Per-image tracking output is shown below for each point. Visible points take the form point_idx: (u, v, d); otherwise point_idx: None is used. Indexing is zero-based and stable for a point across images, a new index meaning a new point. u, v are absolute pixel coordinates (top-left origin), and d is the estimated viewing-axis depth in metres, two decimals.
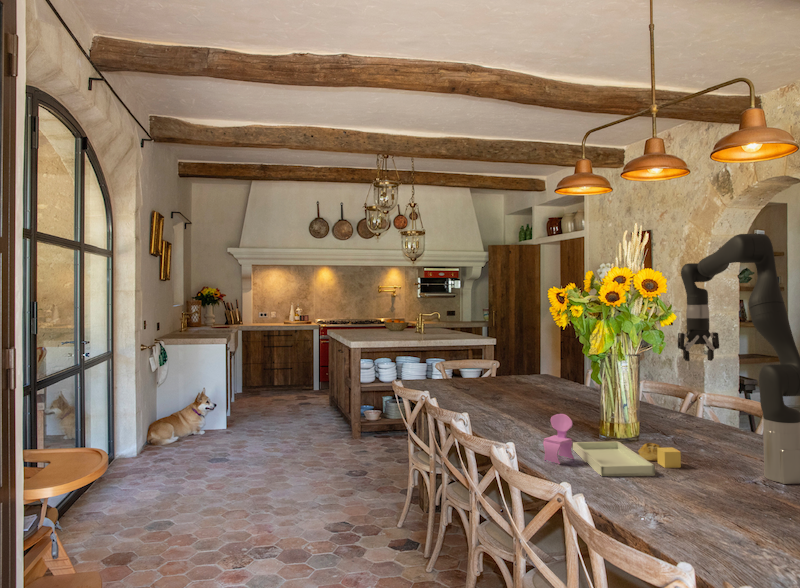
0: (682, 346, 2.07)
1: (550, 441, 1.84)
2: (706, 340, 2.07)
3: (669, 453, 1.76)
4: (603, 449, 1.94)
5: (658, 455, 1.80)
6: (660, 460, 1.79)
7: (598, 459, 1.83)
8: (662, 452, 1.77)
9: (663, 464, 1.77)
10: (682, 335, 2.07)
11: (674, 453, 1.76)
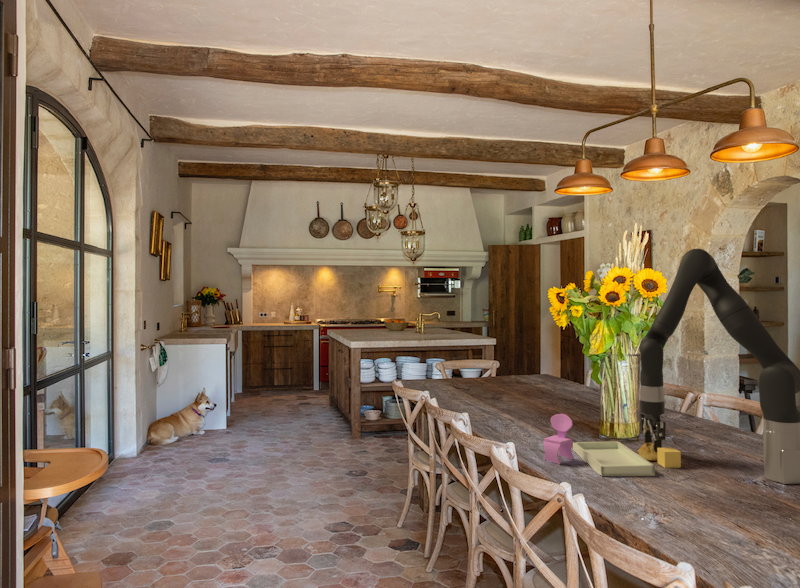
0: None
1: (550, 441, 1.84)
2: None
3: (669, 453, 1.76)
4: (603, 449, 1.94)
5: (658, 455, 1.80)
6: (660, 460, 1.79)
7: (598, 459, 1.83)
8: (662, 452, 1.77)
9: (663, 464, 1.77)
10: None
11: (674, 453, 1.76)
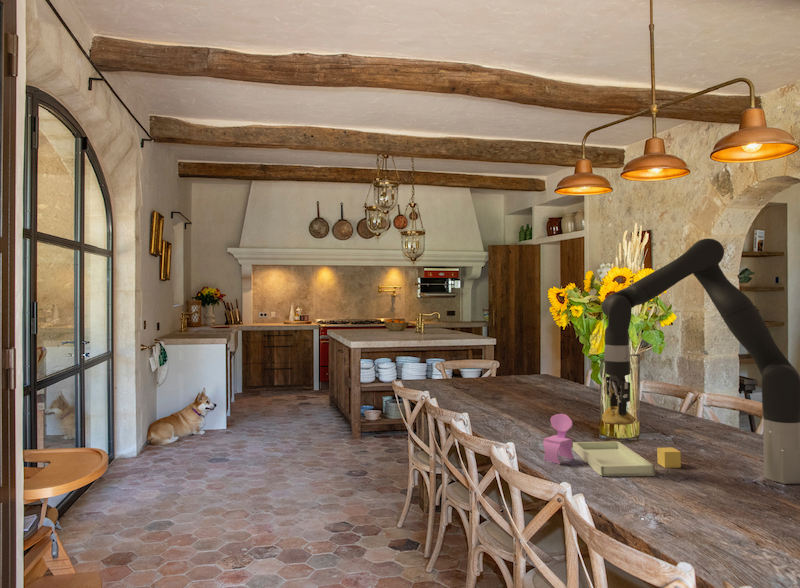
0: None
1: (550, 441, 1.84)
2: None
3: (669, 453, 1.76)
4: (603, 449, 1.94)
5: (658, 455, 1.80)
6: (660, 460, 1.79)
7: (598, 459, 1.83)
8: (662, 452, 1.77)
9: (663, 464, 1.77)
10: None
11: (674, 453, 1.76)
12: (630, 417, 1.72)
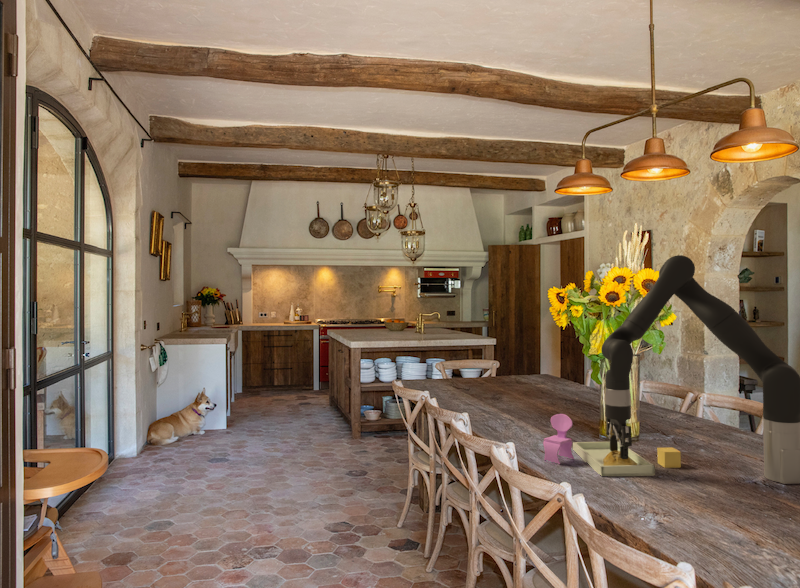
0: None
1: (550, 441, 1.84)
2: None
3: (669, 453, 1.76)
4: (603, 449, 1.94)
5: (658, 455, 1.80)
6: (660, 460, 1.79)
7: (598, 459, 1.83)
8: (662, 452, 1.77)
9: (663, 464, 1.77)
10: None
11: (674, 453, 1.76)
12: (631, 463, 1.72)
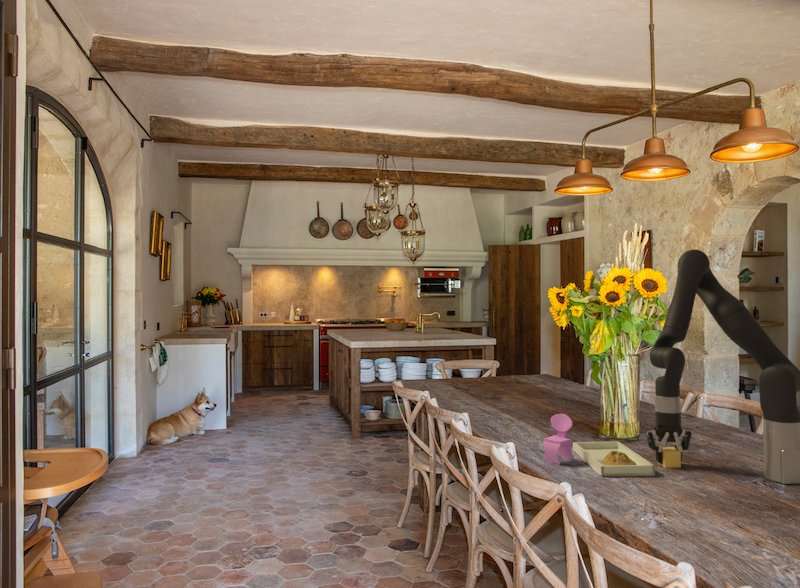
0: None
1: (550, 441, 1.84)
2: None
3: (669, 453, 1.76)
4: (603, 449, 1.94)
5: None
6: None
7: (598, 459, 1.83)
8: (662, 452, 1.77)
9: (663, 464, 1.77)
10: None
11: (674, 453, 1.76)
12: (631, 463, 1.72)
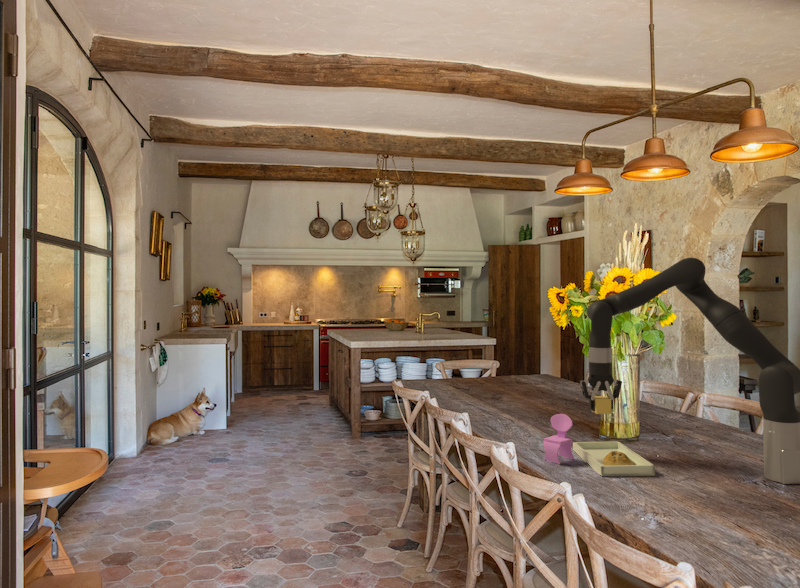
0: None
1: (550, 441, 1.84)
2: None
3: (600, 400, 1.88)
4: (603, 449, 1.94)
5: None
6: None
7: (598, 459, 1.83)
8: (594, 399, 1.90)
9: (595, 411, 1.89)
10: None
11: (605, 400, 1.88)
12: (631, 463, 1.72)
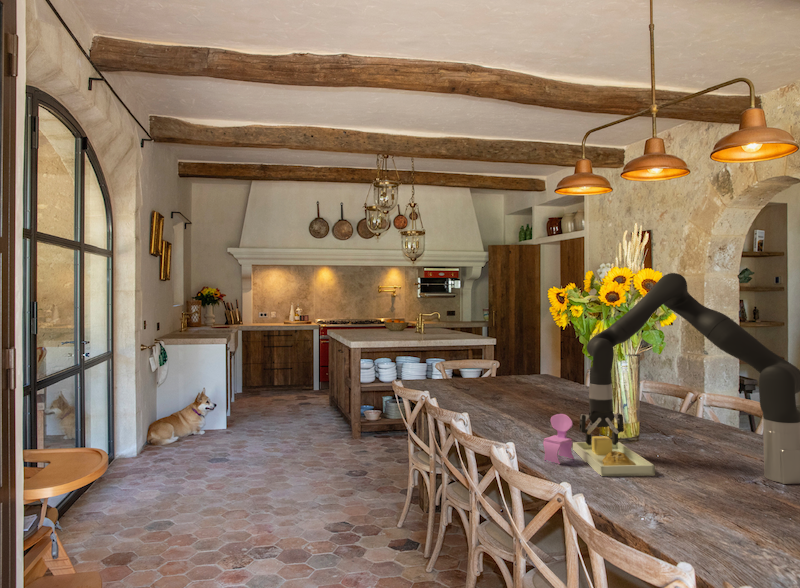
0: None
1: (550, 441, 1.84)
2: None
3: (601, 441, 1.88)
4: None
5: (592, 443, 1.92)
6: (594, 448, 1.91)
7: (598, 459, 1.83)
8: (595, 440, 1.89)
9: (596, 451, 1.89)
10: None
11: (606, 441, 1.88)
12: (631, 463, 1.72)
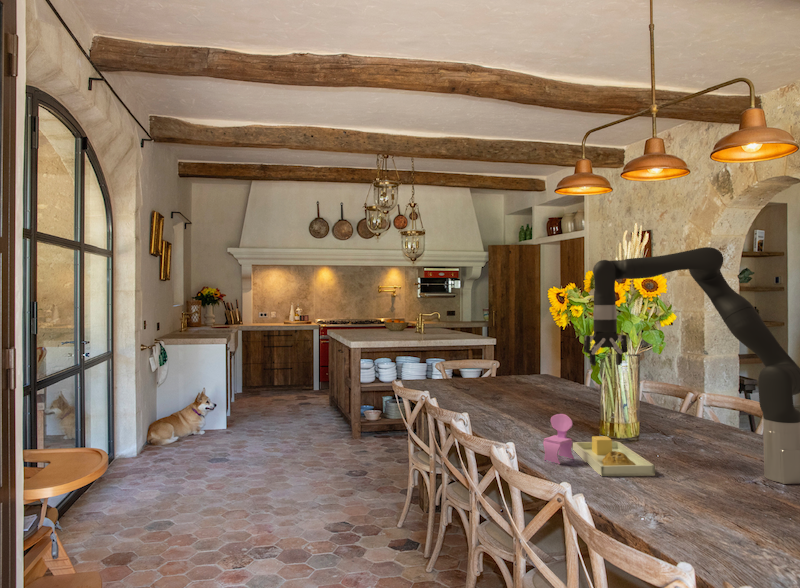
0: None
1: (550, 441, 1.84)
2: None
3: (601, 441, 1.88)
4: None
5: (592, 443, 1.92)
6: (594, 448, 1.91)
7: (598, 459, 1.83)
8: (595, 440, 1.89)
9: (596, 451, 1.89)
10: None
11: (606, 441, 1.88)
12: (630, 463, 1.72)
